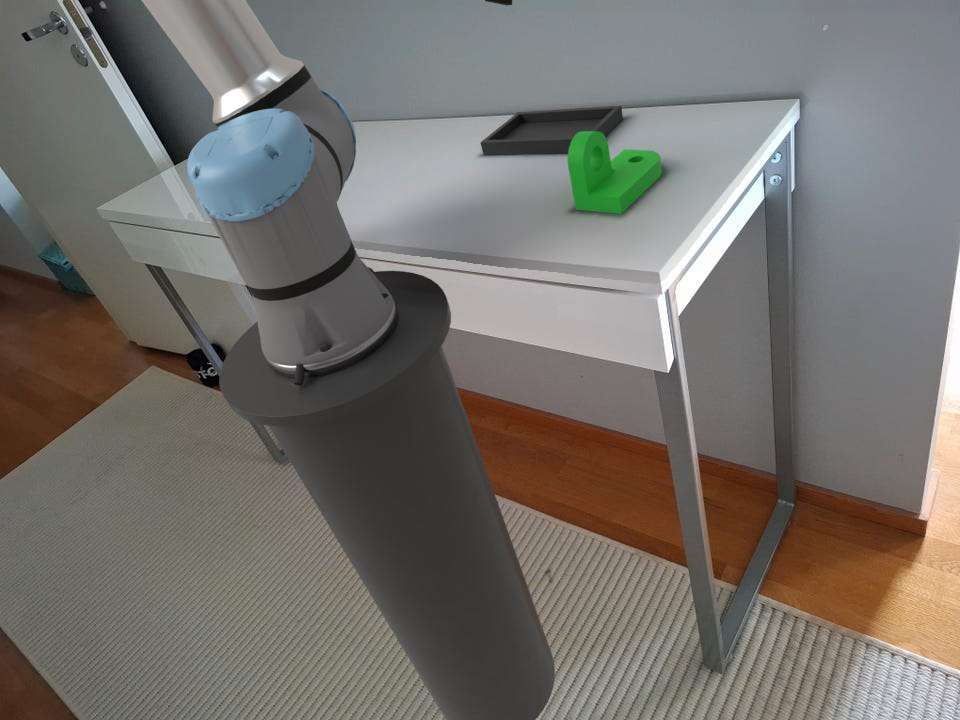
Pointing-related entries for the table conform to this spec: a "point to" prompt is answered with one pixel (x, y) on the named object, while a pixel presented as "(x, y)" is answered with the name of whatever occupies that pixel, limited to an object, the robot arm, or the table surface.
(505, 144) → the parts tray
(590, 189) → the mechanical part
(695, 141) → the table surface
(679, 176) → the table surface
